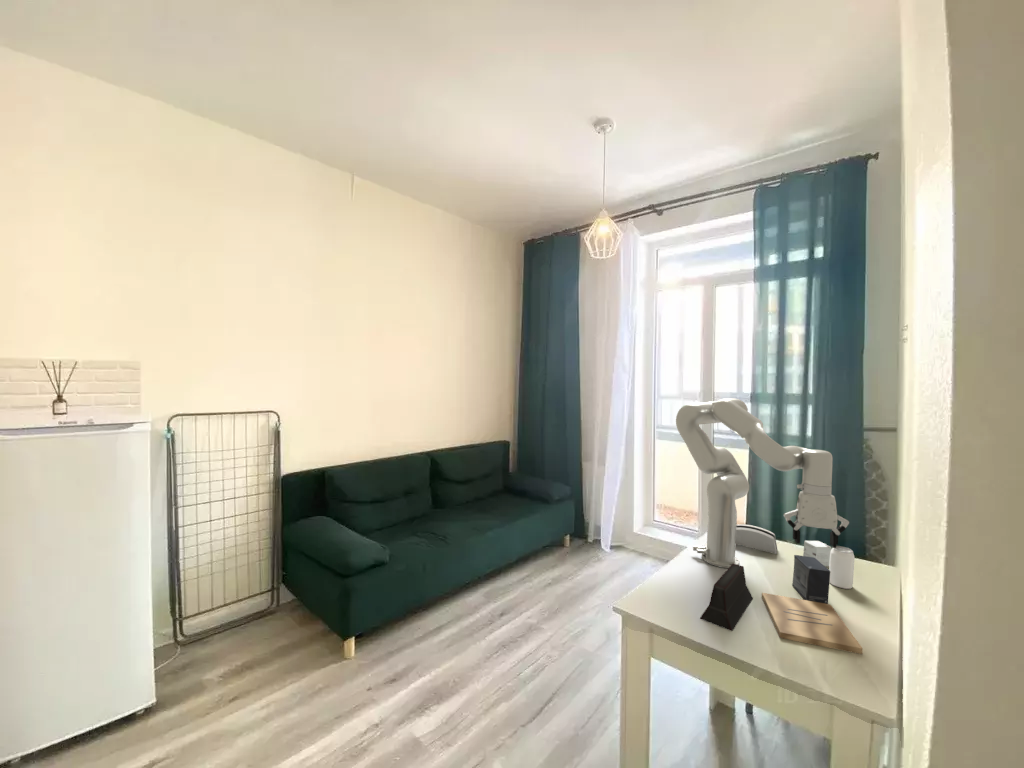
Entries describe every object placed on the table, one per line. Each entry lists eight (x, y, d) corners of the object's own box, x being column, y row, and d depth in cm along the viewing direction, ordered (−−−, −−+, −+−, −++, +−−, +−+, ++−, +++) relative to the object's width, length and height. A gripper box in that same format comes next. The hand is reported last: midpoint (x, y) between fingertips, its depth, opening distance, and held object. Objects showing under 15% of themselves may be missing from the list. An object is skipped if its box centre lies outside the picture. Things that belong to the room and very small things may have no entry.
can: (845, 591, 142) (847, 554, 141) (824, 581, 148) (826, 546, 147) (857, 587, 144) (859, 551, 144) (835, 578, 150) (837, 544, 150)
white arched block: (778, 550, 174) (778, 528, 171) (776, 557, 170) (776, 536, 167) (731, 539, 184) (731, 518, 181) (729, 545, 180) (728, 525, 177)
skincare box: (802, 559, 165) (803, 540, 165) (817, 559, 166) (818, 540, 166) (815, 566, 159) (816, 546, 159) (830, 566, 160) (831, 546, 160)
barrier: (732, 632, 117) (734, 595, 117) (698, 619, 123) (700, 584, 122) (753, 599, 135) (755, 567, 135) (723, 589, 141) (724, 558, 140)
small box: (830, 605, 133) (832, 570, 132) (806, 602, 134) (808, 568, 134) (813, 588, 143) (815, 556, 143) (791, 585, 144) (793, 554, 144)
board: (779, 637, 115) (780, 631, 115) (761, 597, 136) (762, 592, 136) (862, 654, 109) (862, 648, 109) (830, 609, 130) (830, 604, 130)
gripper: (788, 489, 136) (786, 544, 137) (854, 495, 131) (852, 552, 131) (781, 484, 144) (780, 536, 144) (844, 489, 138) (842, 543, 138)
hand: (814, 543), depth 137 cm, fingers open, 9 cm apart
